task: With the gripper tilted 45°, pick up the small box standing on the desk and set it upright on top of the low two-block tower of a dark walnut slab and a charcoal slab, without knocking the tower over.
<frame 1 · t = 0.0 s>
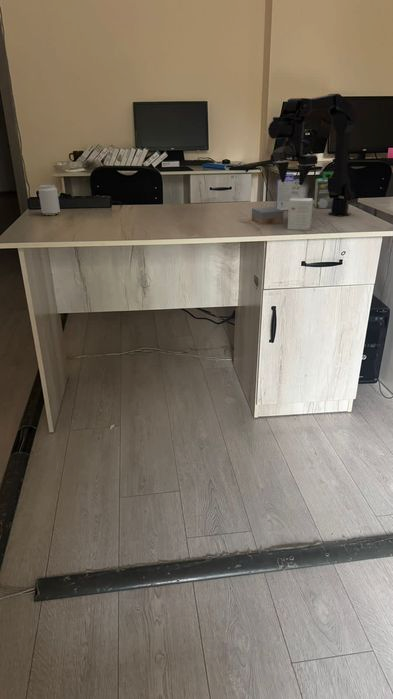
hand: (291, 183, 186), 15 cm above the table, tool pointing down, fingers open, 9 cm apart
small box: (299, 228, 185), on the table
lower block: (266, 222, 197), on the table
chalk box: (324, 207, 223), on the table
can: (51, 215, 216), on the table
ink cartridge box: (287, 209, 219), on the table
upper block: (267, 216, 196), point 2 cm above the table
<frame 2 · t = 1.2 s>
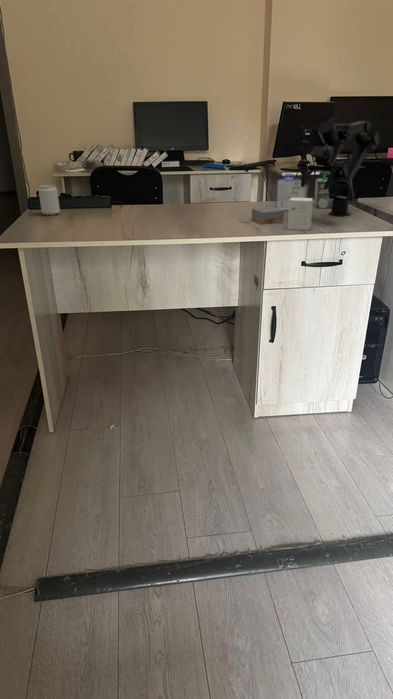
hand: (312, 187, 185), 13 cm above the table, tool tilted 45°, fingers open, 9 cm apart
lower block: (266, 222, 197), on the table, touching upper block
upper block: (267, 216, 196), point 2 cm above the table, touching lower block
everything else where it was.
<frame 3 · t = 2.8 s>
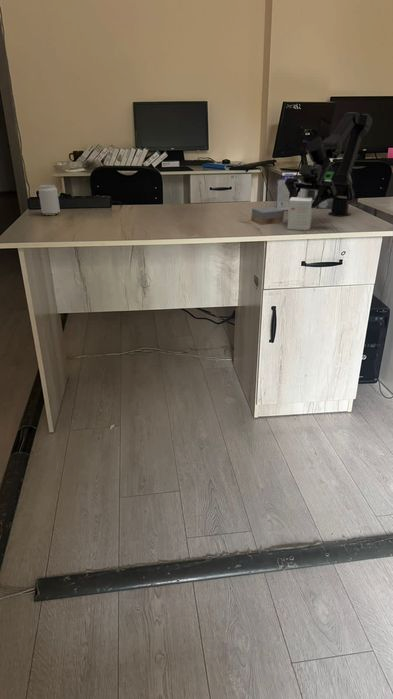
hand: (300, 206, 181), 8 cm above the table, tool tilted 45°, fingers open, 9 cm apart
small box: (299, 228, 185), on the table, touching gripper
lower block: (266, 222, 197), on the table
upper block: (267, 216, 196), point 2 cm above the table
everything else where it was.
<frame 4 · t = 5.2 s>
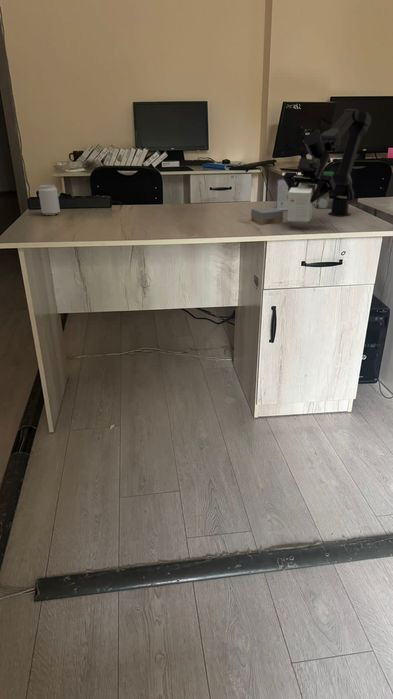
hand: (299, 200, 180), 10 cm above the table, tool tilted 45°, fingers closed on small box, 9 cm apart
small box: (299, 219, 184), point 3 cm above the table, touching gripper
lower block: (266, 222, 197), on the table, touching upper block
upper block: (266, 216, 196), point 2 cm above the table, touching lower block
everything else where it was.
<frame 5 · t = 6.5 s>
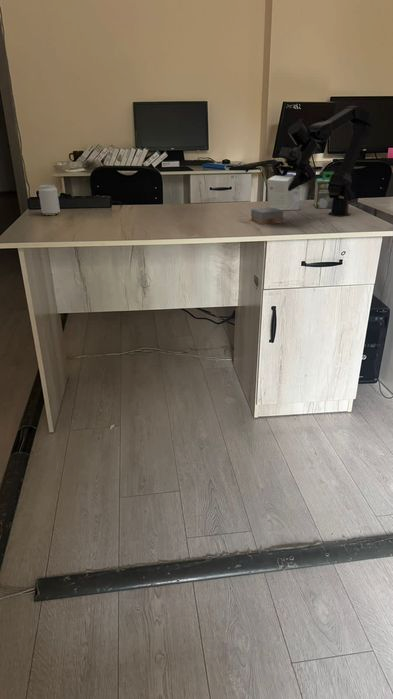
hand: (279, 188, 184), 13 cm above the table, tool tilted 45°, fingers closed on small box, 9 cm apart
small box: (281, 207, 188), point 7 cm above the table, touching gripper
everything else where it was.
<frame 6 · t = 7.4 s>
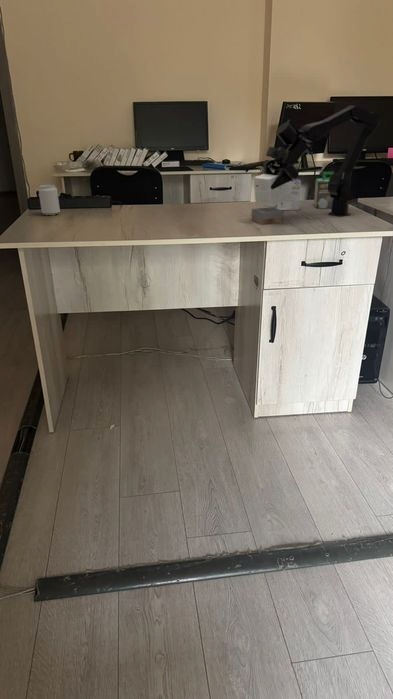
hand: (265, 186, 191), 13 cm above the table, tool tilted 45°, fingers closed on small box, 9 cm apart
small box: (267, 204, 194), point 6 cm above the table, touching gripper
everything else where it was.
when the fingers open (12 cm above the table, at t = 9.2 s): small box drops 1 cm, resting on upper block.
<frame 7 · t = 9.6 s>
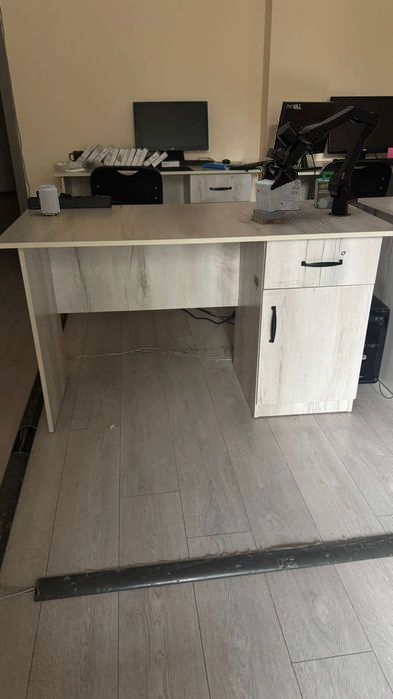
hand: (265, 188, 191), 13 cm above the table, tool tilted 45°, fingers open, 9 cm apart
small box: (268, 210, 195), point 4 cm above the table, touching upper block
upper block: (268, 217, 196), point 2 cm above the table, touching lower block, small box
everything else where it was.
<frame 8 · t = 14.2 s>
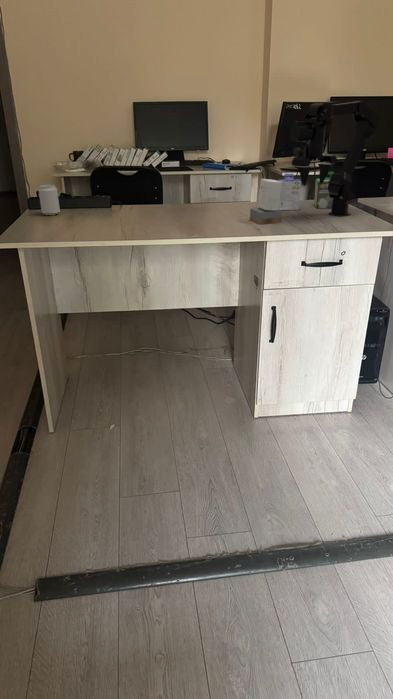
hand: (312, 184, 195), 13 cm above the table, tool pointing down, fingers open, 9 cm apart
upper block: (265, 216, 196), point 2 cm above the table, touching lower block, small box
at the end: small box 0.6 cm off-centre on the upper block, point 2.5 cm above the upper block's base; upper block 0.4 cm off-centre on the lower block, point 2.5 cm above the lower block's base; small box tilted 4° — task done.
